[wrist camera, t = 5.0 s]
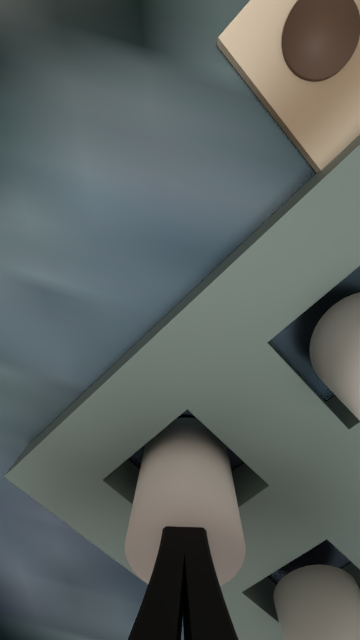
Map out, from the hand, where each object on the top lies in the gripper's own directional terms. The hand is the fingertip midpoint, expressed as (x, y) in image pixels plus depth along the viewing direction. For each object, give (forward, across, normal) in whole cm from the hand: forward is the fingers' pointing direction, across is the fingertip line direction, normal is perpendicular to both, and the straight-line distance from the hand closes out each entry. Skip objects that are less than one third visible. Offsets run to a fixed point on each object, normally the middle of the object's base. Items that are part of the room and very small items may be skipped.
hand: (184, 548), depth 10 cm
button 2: (+4, 0, 0) cm, 4 cm away
